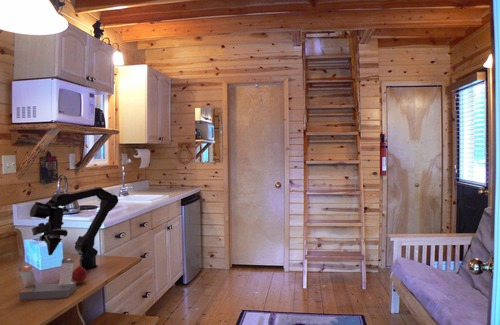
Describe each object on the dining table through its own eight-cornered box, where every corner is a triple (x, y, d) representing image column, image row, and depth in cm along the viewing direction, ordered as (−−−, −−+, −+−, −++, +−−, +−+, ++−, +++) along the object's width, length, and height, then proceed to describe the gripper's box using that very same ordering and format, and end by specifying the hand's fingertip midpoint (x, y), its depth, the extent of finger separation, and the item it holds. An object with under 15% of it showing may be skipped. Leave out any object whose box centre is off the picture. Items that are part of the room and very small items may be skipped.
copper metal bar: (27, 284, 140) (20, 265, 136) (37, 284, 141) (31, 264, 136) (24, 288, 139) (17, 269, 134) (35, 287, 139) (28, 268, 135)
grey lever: (60, 284, 141) (64, 259, 145) (71, 284, 142) (74, 258, 145) (58, 284, 140) (61, 259, 143) (69, 284, 140) (72, 258, 143)
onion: (83, 279, 156) (82, 262, 156) (89, 282, 153) (88, 264, 152) (70, 283, 152) (69, 265, 152) (76, 286, 148) (75, 268, 148)
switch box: (30, 292, 144) (30, 284, 143) (75, 289, 145) (75, 281, 145) (19, 300, 136) (19, 291, 135) (67, 297, 137) (67, 289, 137)
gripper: (29, 222, 160) (23, 256, 154) (42, 214, 148) (36, 251, 143) (55, 224, 168) (50, 257, 162) (70, 217, 156) (65, 252, 150)
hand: (50, 255), depth 154 cm, fingers closed
